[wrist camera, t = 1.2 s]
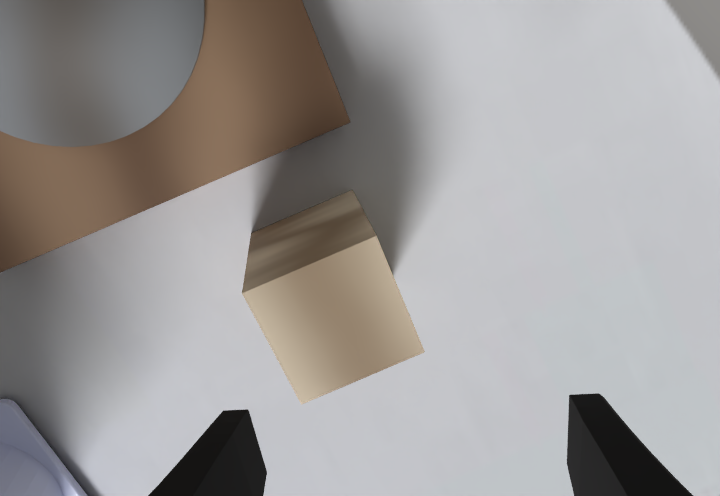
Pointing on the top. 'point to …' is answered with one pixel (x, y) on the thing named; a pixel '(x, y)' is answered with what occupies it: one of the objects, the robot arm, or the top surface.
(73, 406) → the top surface
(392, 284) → the maple block
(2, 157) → the walnut base
